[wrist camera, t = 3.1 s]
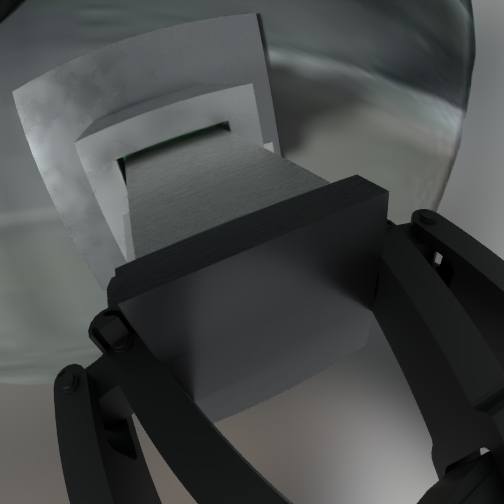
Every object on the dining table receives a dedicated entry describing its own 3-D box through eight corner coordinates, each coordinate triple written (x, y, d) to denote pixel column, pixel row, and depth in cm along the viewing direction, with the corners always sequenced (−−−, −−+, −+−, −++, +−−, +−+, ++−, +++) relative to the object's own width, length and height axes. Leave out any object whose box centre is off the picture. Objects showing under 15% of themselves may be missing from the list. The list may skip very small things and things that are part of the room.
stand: (16, 91, 16) (-44, 100, 7) (250, 15, 21) (323, -11, 12) (103, 284, 29) (108, 365, 20) (283, 210, 34) (344, 261, 25)
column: (118, 133, 21) (117, 304, 5) (189, 107, 23) (388, 191, 6) (141, 197, 25) (212, 423, 9) (206, 172, 26) (366, 343, 10)
